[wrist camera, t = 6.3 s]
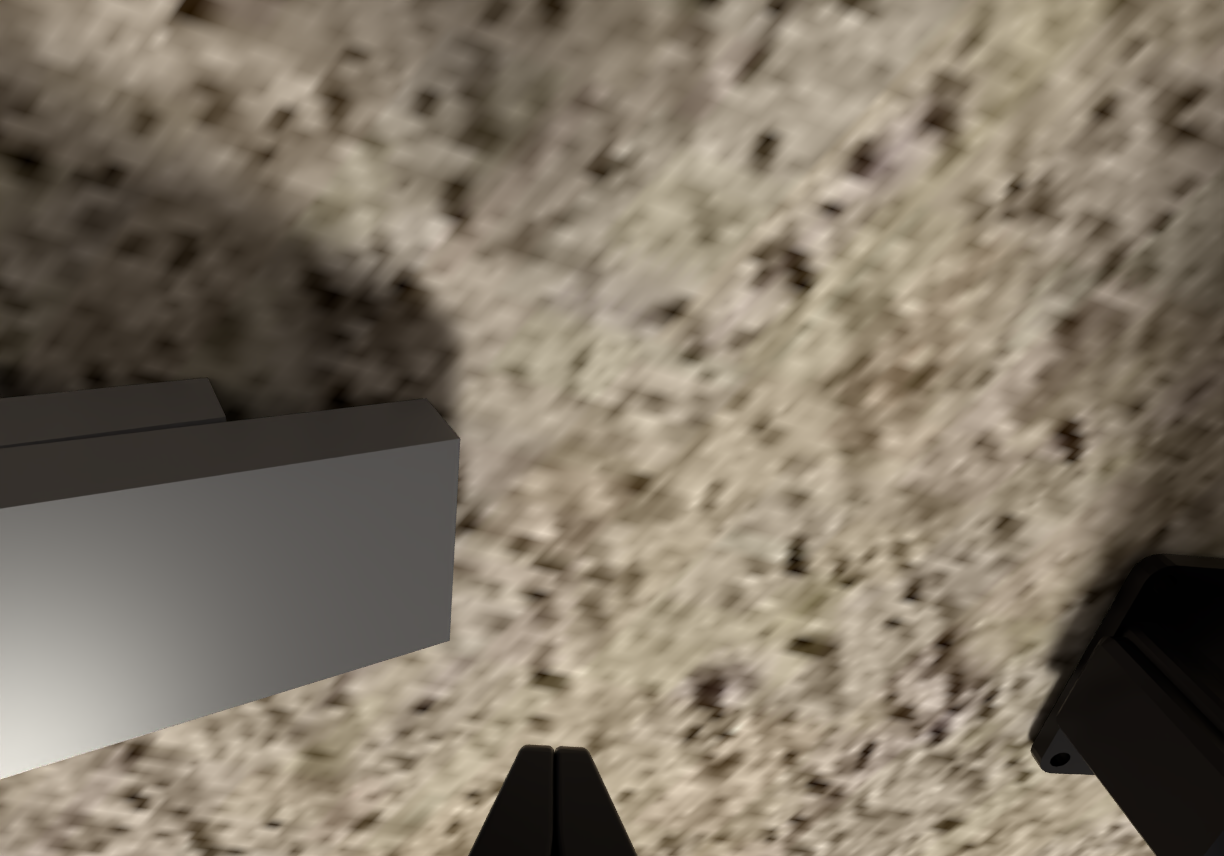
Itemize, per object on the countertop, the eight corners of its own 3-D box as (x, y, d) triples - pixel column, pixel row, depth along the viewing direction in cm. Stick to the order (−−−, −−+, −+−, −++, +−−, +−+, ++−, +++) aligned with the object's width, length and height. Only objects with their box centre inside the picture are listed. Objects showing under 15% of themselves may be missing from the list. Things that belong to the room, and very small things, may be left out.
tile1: (460, 438, 12) (-259, 548, 8) (449, 640, 14) (-129, 819, 10) (426, 398, 13) (-215, 474, 9) (420, 590, 15) (-107, 728, 11)
